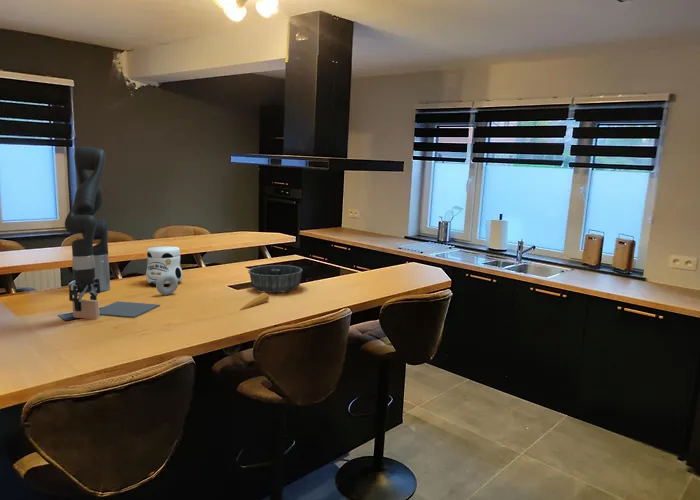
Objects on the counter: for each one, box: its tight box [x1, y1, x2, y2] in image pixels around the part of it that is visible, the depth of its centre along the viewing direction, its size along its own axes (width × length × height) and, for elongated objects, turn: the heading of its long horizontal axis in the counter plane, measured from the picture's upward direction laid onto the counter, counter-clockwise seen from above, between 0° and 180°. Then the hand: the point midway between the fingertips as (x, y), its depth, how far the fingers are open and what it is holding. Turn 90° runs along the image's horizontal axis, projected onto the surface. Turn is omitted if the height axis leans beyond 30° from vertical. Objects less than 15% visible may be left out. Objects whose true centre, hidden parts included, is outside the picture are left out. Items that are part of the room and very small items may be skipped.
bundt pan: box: [247, 264, 303, 294], centre depth 247 cm, size 26×26×10 cm
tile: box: [71, 298, 101, 320], centre depth 195 cm, size 10×2×7 cm, turn 80°
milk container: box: [145, 245, 184, 286], centre depth 253 cm, size 17×17×18 cm
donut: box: [155, 274, 179, 296], centre depth 232 cm, size 10×4×10 cm, turn 130°
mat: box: [99, 301, 161, 319], centre depth 207 cm, size 20×18×1 cm
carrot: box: [239, 292, 270, 311], centre depth 218 cm, size 20×4×4 cm, turn 153°
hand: (86, 308), depth 195 cm, fingers open, 8 cm apart
